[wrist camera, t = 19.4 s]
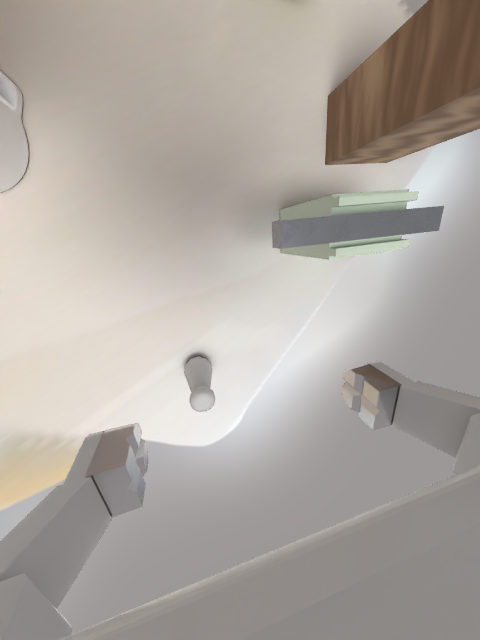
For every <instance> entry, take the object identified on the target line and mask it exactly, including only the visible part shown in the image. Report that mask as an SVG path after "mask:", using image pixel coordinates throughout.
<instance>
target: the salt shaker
mask: <svg viewBox="0 0 480 640" xmlns="http://www.w3.org/2000/svg"><path fill="white" fill-rule="evenodd" d="M184 373H185V376H186V379H187V381H188V384H189V387H190V390H191V392H192V393H191V395H190V404H191V406H192V408H193V409H194V410H195V411H198V412H204V411H207V410H209V409H211V408H212V406H213V405H214V402H215V396H214V393H213V391H212V390H211V389H210V385H211V375H212V366H211V363H210V362H209V361H208V360H207V359H205V358H201V357H200V356H198V357H195V358H191V359H190V360H189V362H188V363H187V364H186V365H185V370H184Z"/></svg>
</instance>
